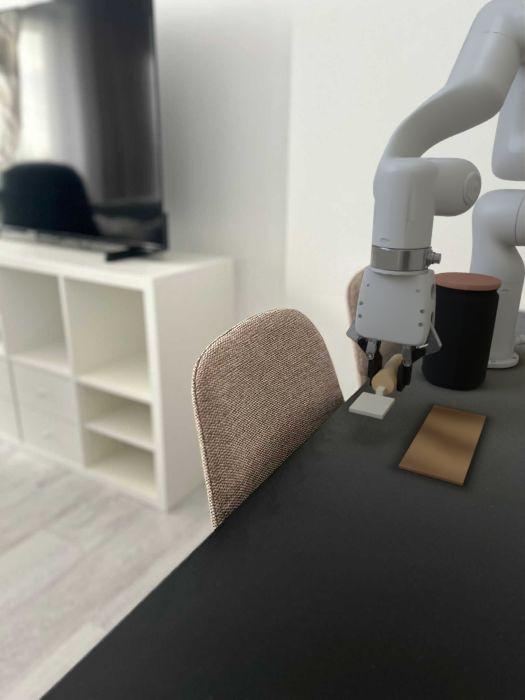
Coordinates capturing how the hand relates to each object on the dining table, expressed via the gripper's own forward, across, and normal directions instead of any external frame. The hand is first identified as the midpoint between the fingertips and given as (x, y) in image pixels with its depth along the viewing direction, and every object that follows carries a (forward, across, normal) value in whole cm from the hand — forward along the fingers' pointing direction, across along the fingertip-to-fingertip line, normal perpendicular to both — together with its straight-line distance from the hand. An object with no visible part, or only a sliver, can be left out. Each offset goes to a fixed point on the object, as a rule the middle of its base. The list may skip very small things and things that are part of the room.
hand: (388, 384), depth 74 cm
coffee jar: (+6, -6, -20) cm, 22 cm away
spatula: (0, 0, +2) cm, 2 cm away
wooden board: (+5, -9, +3) cm, 11 cm away
